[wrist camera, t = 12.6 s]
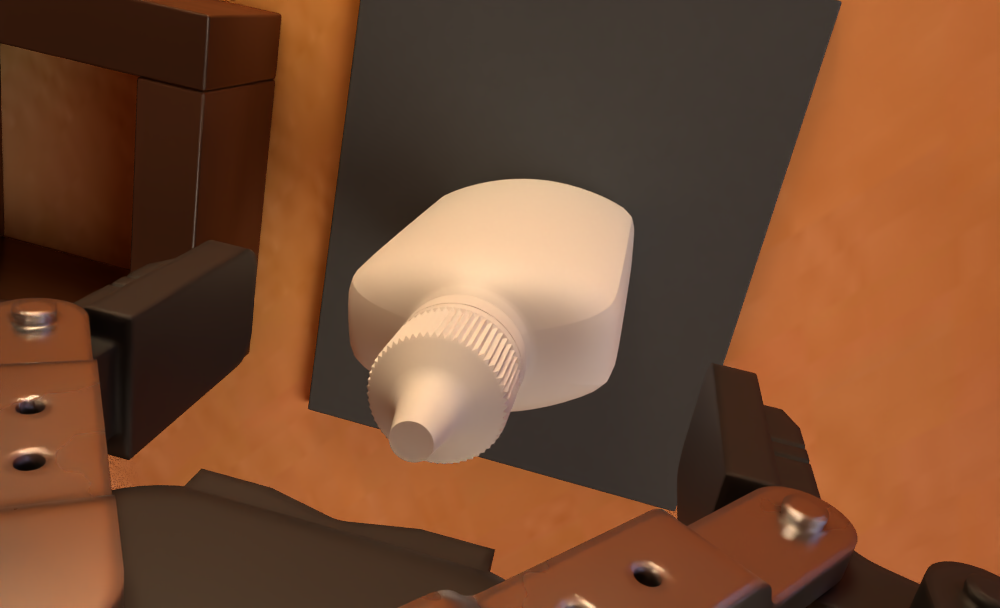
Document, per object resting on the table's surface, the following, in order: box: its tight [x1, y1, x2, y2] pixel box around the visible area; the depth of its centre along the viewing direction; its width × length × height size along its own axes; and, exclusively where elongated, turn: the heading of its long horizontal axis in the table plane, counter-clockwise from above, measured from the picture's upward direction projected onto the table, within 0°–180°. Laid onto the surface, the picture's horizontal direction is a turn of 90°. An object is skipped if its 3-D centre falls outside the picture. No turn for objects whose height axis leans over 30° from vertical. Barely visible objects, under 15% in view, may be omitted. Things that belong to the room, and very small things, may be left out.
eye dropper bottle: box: [348, 179, 634, 464], centre depth 18 cm, size 4×6×12 cm
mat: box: [308, 0, 841, 511], centre depth 24 cm, size 15×12×1 cm
